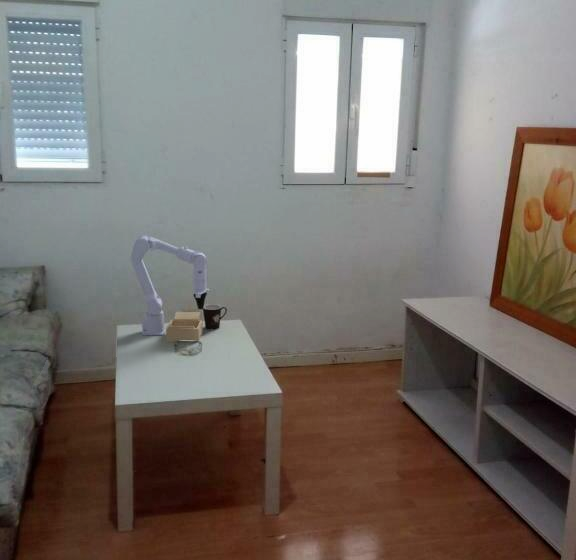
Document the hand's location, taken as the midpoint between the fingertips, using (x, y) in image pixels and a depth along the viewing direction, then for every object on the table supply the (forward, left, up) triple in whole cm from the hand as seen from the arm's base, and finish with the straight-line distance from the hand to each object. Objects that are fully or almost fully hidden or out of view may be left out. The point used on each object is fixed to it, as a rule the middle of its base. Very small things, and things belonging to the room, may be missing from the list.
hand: (200, 308), depth 288 cm
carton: (-6, -9, -10) cm, 15 cm away
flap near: (-6, -17, -3) cm, 18 cm away
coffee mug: (+6, +5, -11) cm, 13 cm away
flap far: (-6, -1, -3) cm, 7 cm away
